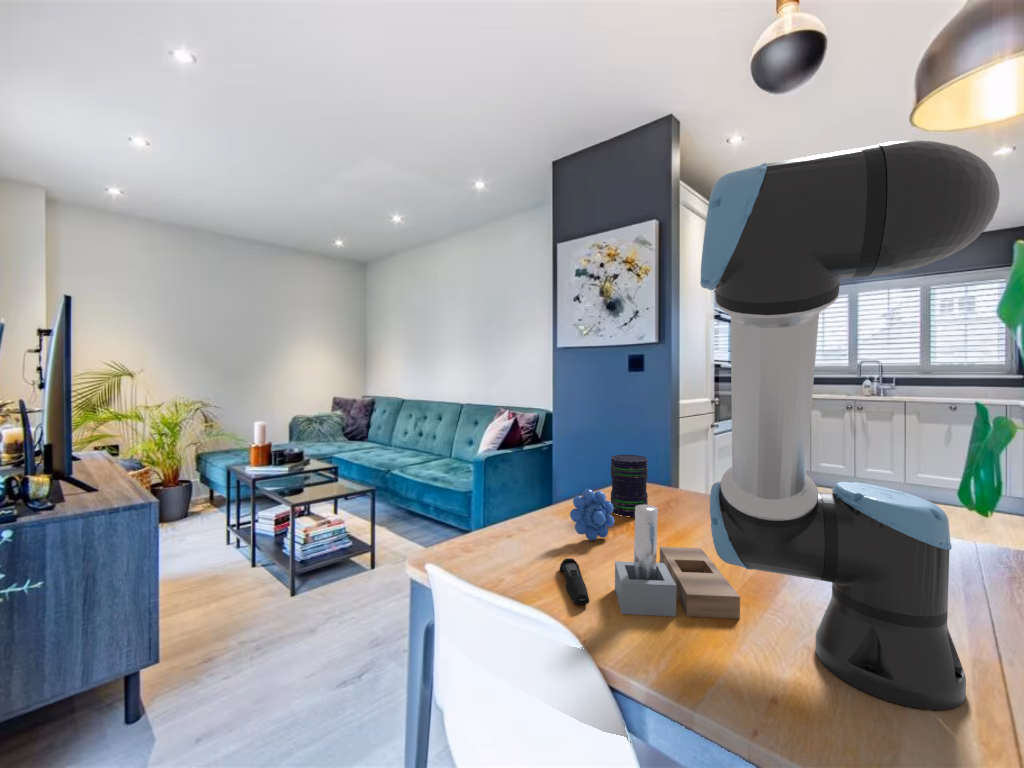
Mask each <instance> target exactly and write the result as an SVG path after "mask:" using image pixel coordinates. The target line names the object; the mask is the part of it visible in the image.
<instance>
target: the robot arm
mask: <svg viewBox="0 0 1024 768" xmlns="http://www.w3.org/2000/svg"><path fill="white" fill-rule="evenodd" d="M1000 193H1001V192H1000V185H999V183H998V179H997V176H996V174H995V172H994V171H993V169H992V168H991V167H990V166H989V164H988V163H987V162H986V160H985V161H984V159H982V158H981V157H979V156H978V155H976V154H975V153H973V152H971V151H969V150H967V149H965V148H961V147H959V146H957V145H953V144H948V143H943V142H938V141H933V140H931V141H930V140H916V139H915V140H914V139H912V140H911V139H910V140H898V141H897V140H896V141H888V142H884V143H879V144H878V143H877V144H875V145H870V146H865V147H860V148H854V149H848V150H841V151H835V152H830V153H823V154H817V155H811V156H806V157H798V158H792V159H787V160H781V161H780V160H779V161H776V162H769V163H767V162H765V163H764V162H763V163H761V164H759V165H754V166H753V167H748V168H744V169H740V170H736V171H732V172H729V173H726V174H724V175H722V176H721V177H719V179H717V181H716V182H715V183H714V185H713V186H712V190H711V191H710V196H709V201H708V206H707V212H706V220H705V226H704V232H703V234H704V236H703V244H702V252H701V263H700V282H699V283H700V286H701V287H702V288H703V289H707V290H709V291H714V290H715V303H716V306H717V308H719V309H720V310H721V311H723V312H725V313H726V314H727V315H729V316H730V366H731V368H730V369H731V372H730V373H731V374H730V376H731V377H730V378H731V382H730V383H731V384H730V385H731V388H730V389H731V462H732V463H731V464H732V466H731V467H730V468H728V469H727V470H725V472H724V473H723V474H722V477H721V480H720V481H716V482H714V483H713V484H712V485H711V487H710V494H709V515H710V517H709V518H710V529H711V530H710V531H711V536H712V541H713V546H714V549H715V552H716V554H717V556H718V557H719V558H720V560H722V561H723V562H724V563H726V564H728V565H732V566H737V567H742V568H744V569H746V570H750V571H751V570H754V571H760V572H768V573H773V574H774V573H775V574H779V575H785V576H792V577H798V578H805V579H810V580H817V581H821V582H829V583H831V585H832V586H831V587H832V589H831V597H830V601H829V602H828V605H827V606H826V609H825V611H824V613H823V616H822V619H821V622H820V623H819V626H818V627H817V629H816V634H815V653H816V656H817V657H818V659H819V661H820V662H821V664H823V666H825V668H827V669H828V670H829V671H830V672H831V673H832V674H834V675H835V676H836V677H838V678H840V679H841V680H842V681H844V682H845V683H848V684H849V685H851V686H853V687H854V688H857V689H858V690H860V691H863V692H865V693H867V694H869V695H872V696H873V697H876V698H880V699H882V700H885V701H888V702H891V703H894V704H899V705H901V706H905V705H906V707H909V706H911V707H910V708H915V707H916V708H915V709H921V708H924V709H923V710H930V709H934V710H933V711H935V709H937V710H936V711H942V710H951V709H954V708H957V707H960V706H961V705H962V704H963V703H964V702H965V700H966V697H967V695H966V693H967V677H966V672H965V670H964V668H963V666H962V662H961V660H960V658H959V655H958V652H957V648H956V646H955V644H954V640H953V638H952V635H951V633H950V631H949V627H948V626H949V625H948V612H949V611H948V609H949V581H950V580H949V577H950V576H949V574H950V551H951V550H952V548H953V546H952V543H951V536H950V534H951V533H950V523H949V522H950V521H949V517H948V516H947V514H946V512H945V511H944V510H943V509H942V508H941V507H939V506H938V505H937V504H935V503H933V502H932V501H929V500H927V499H924V498H922V497H919V496H917V495H915V494H910V493H907V492H904V491H900V490H896V489H892V488H890V487H883V486H880V485H875V484H870V483H864V482H857V481H851V482H850V481H839V482H836V483H835V484H834V485H833V487H832V490H831V491H832V492H824V491H823V492H821V491H819V489H818V486H817V485H816V483H815V482H814V481H813V479H812V478H811V477H810V476H809V475H808V474H807V468H808V467H807V466H808V454H809V443H810V442H809V441H810V431H811V429H810V428H811V419H812V418H811V417H812V407H813V406H812V405H813V392H814V380H815V367H816V356H817V346H818V345H817V344H818V334H819V333H818V331H819V321H820V320H819V318H820V314H821V312H823V311H824V310H826V309H828V307H830V306H832V304H834V303H835V302H836V301H837V299H838V298H839V293H840V285H841V284H840V283H841V279H850V278H851V279H852V278H861V277H871V276H873V277H874V276H882V275H889V274H895V273H899V272H900V273H901V272H905V271H910V270H913V269H918V268H920V267H924V266H927V265H930V264H932V263H935V262H938V261H940V260H943V259H945V258H948V257H950V256H952V255H954V254H955V253H957V252H960V251H961V250H963V249H965V248H966V247H967V246H969V245H970V244H971V243H972V242H974V241H975V240H977V238H979V236H980V235H981V234H982V233H983V232H984V231H985V230H986V229H987V228H988V226H989V224H990V223H991V222H992V220H993V219H994V216H995V214H996V211H997V209H998V206H999V201H1000Z"/></svg>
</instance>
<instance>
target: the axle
mask: <svg viewBox="0 0 1024 768" xmlns="http://www.w3.org/2000/svg"><path fill="white" fill-rule="evenodd" d="M658 514H659V509H658V507H657V506H654V505H651V504H648V505H637V506H635V518H634V545H633V546H634V547H633V549H634V550H633V551H634V552H633V562H634V580H656V563H657V557H658V555H657V554H658V553H657V550H658V518H659V517H658Z"/></svg>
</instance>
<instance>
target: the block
mask: <svg viewBox="0 0 1024 768" xmlns="http://www.w3.org/2000/svg"><path fill="white" fill-rule="evenodd" d="M614 591H615V595H616V598H617V602H618V606H619V611H620V614H621V615H637V616H638V615H639V616H657V617H660V616H661V617H677V596H676V584H675V582H674V580H673V578H672V576H671V575H670V573H669V571H668V569H667V567H666V566H665V564H664V563H660V562H656V580H634V561H619V560H614Z"/></svg>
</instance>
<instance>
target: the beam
mask: <svg viewBox="0 0 1024 768" xmlns="http://www.w3.org/2000/svg"><path fill="white" fill-rule="evenodd" d="M659 563H664V564H665V566H666V567H667V569H668V571H669V573H670V575H671V576H672V578H673V580H674V582H675V584H676V599H677V600H678V601H679V604H680V605H681V607H682V609H683V611H684V613H685V615H686V616H687V617H697V618H716V619H719V618H720V619H721V618H722V619H735V620H736V619H738V620H739V619H740V618H741V596H740V594H739V593H737V591H736V590H735V589H734V587H733V586H732V585H731V583H730V582H729V581H728V580H727V579H726V577H725V576H724V575H723V573H722V572H721V571H720V569H718V567H717V566H716V565H715V564H714V562H713V561H712V559H710V557H709V556H708V555H707V554H706V552H705V550H703V548H701V547H686V546H685V547H682V546H681V547H680V546H659Z"/></svg>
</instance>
